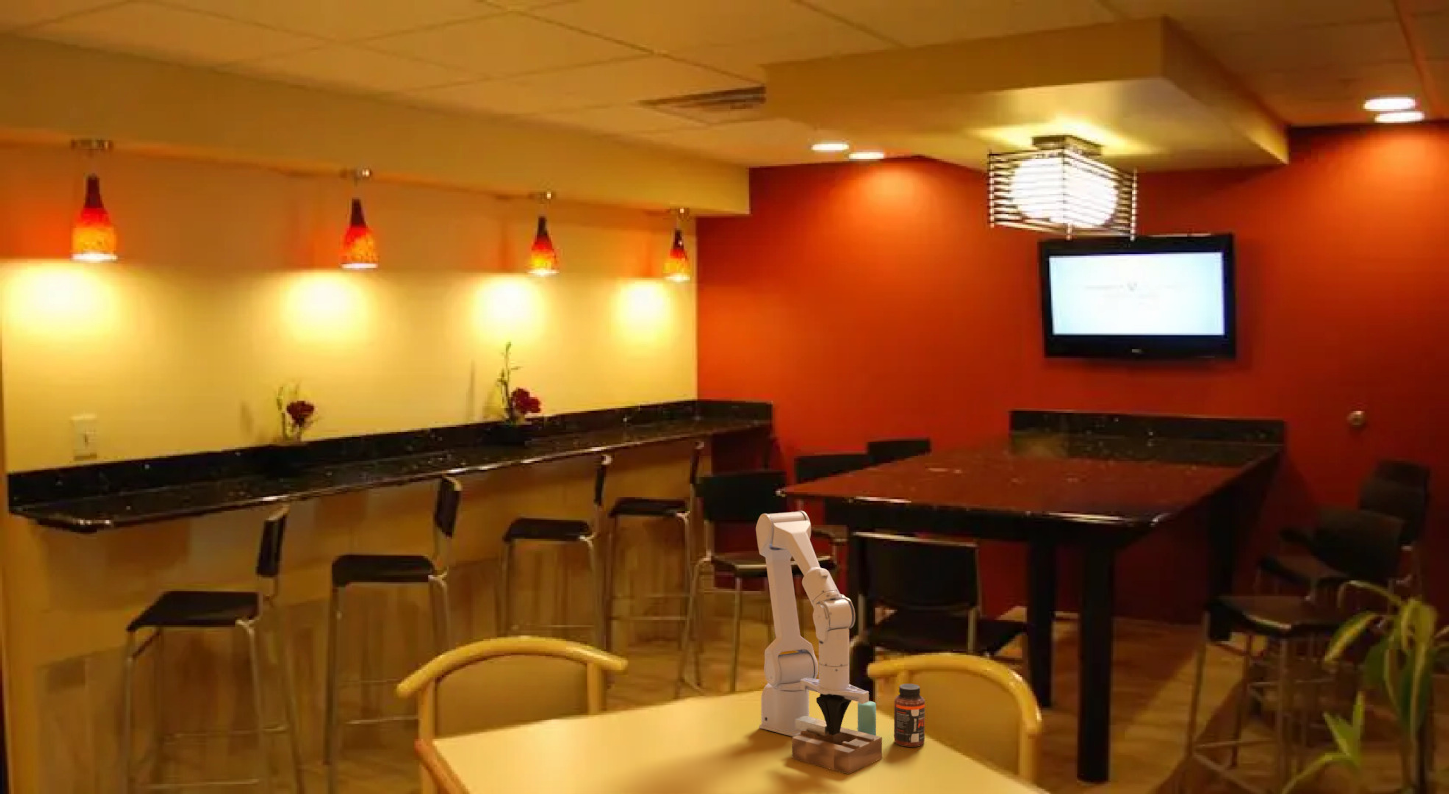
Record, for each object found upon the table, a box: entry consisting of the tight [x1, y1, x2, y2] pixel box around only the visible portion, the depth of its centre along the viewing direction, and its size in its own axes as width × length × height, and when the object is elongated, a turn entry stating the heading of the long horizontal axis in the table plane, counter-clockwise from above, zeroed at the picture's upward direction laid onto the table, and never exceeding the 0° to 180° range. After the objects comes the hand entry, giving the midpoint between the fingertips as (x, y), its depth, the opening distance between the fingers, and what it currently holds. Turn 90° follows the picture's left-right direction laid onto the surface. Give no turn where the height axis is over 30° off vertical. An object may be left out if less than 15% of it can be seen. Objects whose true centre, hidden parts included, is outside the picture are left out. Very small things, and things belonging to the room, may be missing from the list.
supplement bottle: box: [893, 683, 926, 748], centre depth 245 cm, size 6×6×11 cm
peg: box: [857, 700, 877, 736], centre depth 248 cm, size 4×4×7 cm
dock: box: [791, 726, 883, 775], centre depth 237 cm, size 13×11×4 cm
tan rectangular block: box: [796, 715, 829, 736], centre depth 240 cm, size 7×3×2 cm, turn 49°
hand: (834, 733), depth 237 cm, fingers closed
